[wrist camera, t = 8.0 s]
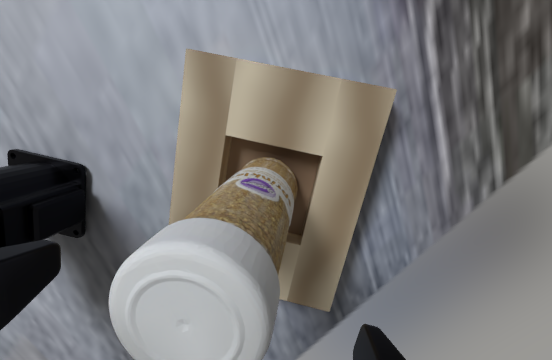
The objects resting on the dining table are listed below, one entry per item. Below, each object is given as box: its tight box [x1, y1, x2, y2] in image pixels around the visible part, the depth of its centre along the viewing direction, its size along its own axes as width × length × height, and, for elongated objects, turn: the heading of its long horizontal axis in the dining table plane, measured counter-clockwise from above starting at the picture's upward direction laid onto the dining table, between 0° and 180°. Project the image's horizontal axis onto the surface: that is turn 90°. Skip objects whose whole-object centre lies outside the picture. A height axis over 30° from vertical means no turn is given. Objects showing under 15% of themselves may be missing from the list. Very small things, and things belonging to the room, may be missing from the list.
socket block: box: [169, 49, 397, 312], centre depth 19 cm, size 13×16×2 cm
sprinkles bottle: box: [109, 157, 298, 360], centre depth 13 cm, size 5×5×14 cm
